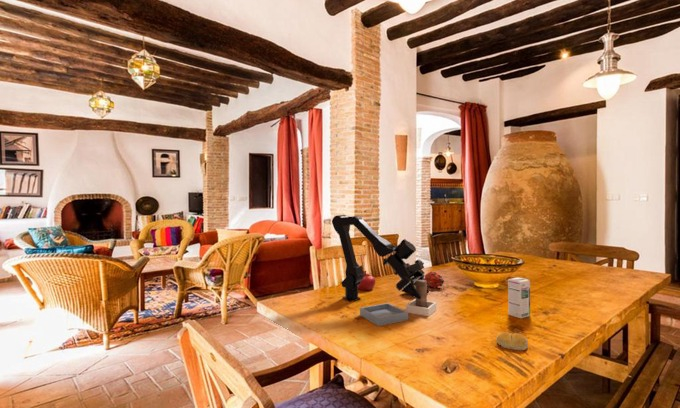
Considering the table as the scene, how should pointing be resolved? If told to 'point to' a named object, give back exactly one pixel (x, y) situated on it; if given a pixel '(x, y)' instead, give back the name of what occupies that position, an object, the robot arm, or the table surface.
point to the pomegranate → (367, 282)
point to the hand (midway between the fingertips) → (424, 295)
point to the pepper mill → (421, 293)
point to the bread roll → (512, 341)
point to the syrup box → (519, 297)
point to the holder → (421, 308)
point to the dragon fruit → (434, 280)
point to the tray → (383, 314)
